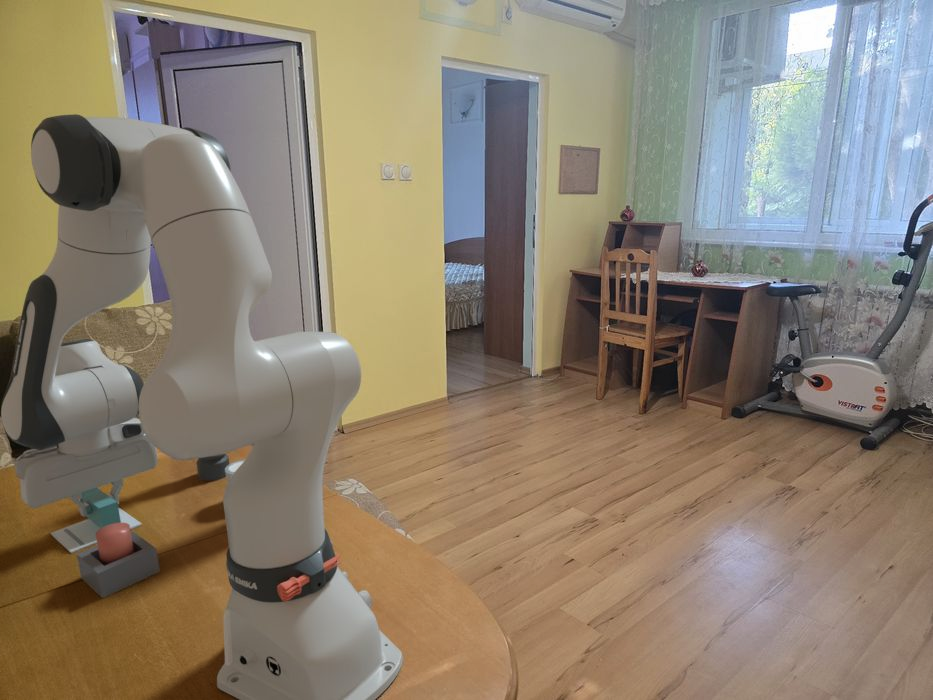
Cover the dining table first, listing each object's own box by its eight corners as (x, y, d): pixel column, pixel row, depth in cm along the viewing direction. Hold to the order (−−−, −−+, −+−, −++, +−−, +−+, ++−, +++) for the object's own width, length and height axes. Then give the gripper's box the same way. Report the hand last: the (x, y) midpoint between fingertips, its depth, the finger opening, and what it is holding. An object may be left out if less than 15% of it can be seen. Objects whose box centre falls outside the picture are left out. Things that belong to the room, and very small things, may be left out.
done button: (139, 558, 90) (134, 528, 89) (108, 572, 87) (102, 541, 86) (127, 548, 93) (122, 519, 92) (96, 561, 89) (90, 531, 88)
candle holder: (216, 482, 120) (200, 363, 114) (191, 478, 122) (174, 361, 116) (236, 469, 126) (222, 355, 120) (213, 466, 128) (198, 353, 122)
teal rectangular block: (120, 523, 102) (117, 501, 101) (103, 530, 100) (99, 508, 99) (100, 507, 108) (96, 487, 107) (82, 513, 105) (78, 493, 105)
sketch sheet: (141, 525, 105) (141, 523, 105) (71, 553, 96) (70, 551, 96) (119, 509, 110) (119, 507, 110) (50, 534, 102) (50, 532, 102)
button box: (159, 571, 91) (155, 548, 90) (102, 598, 85) (97, 573, 84) (136, 553, 96) (133, 531, 95) (81, 577, 90) (76, 554, 89)
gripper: (18, 459, 90) (35, 541, 94) (156, 421, 106) (167, 492, 109) (5, 449, 94) (22, 528, 97) (140, 414, 110) (151, 483, 113)
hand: (100, 509), depth 103 cm, fingers open, 3 cm apart
